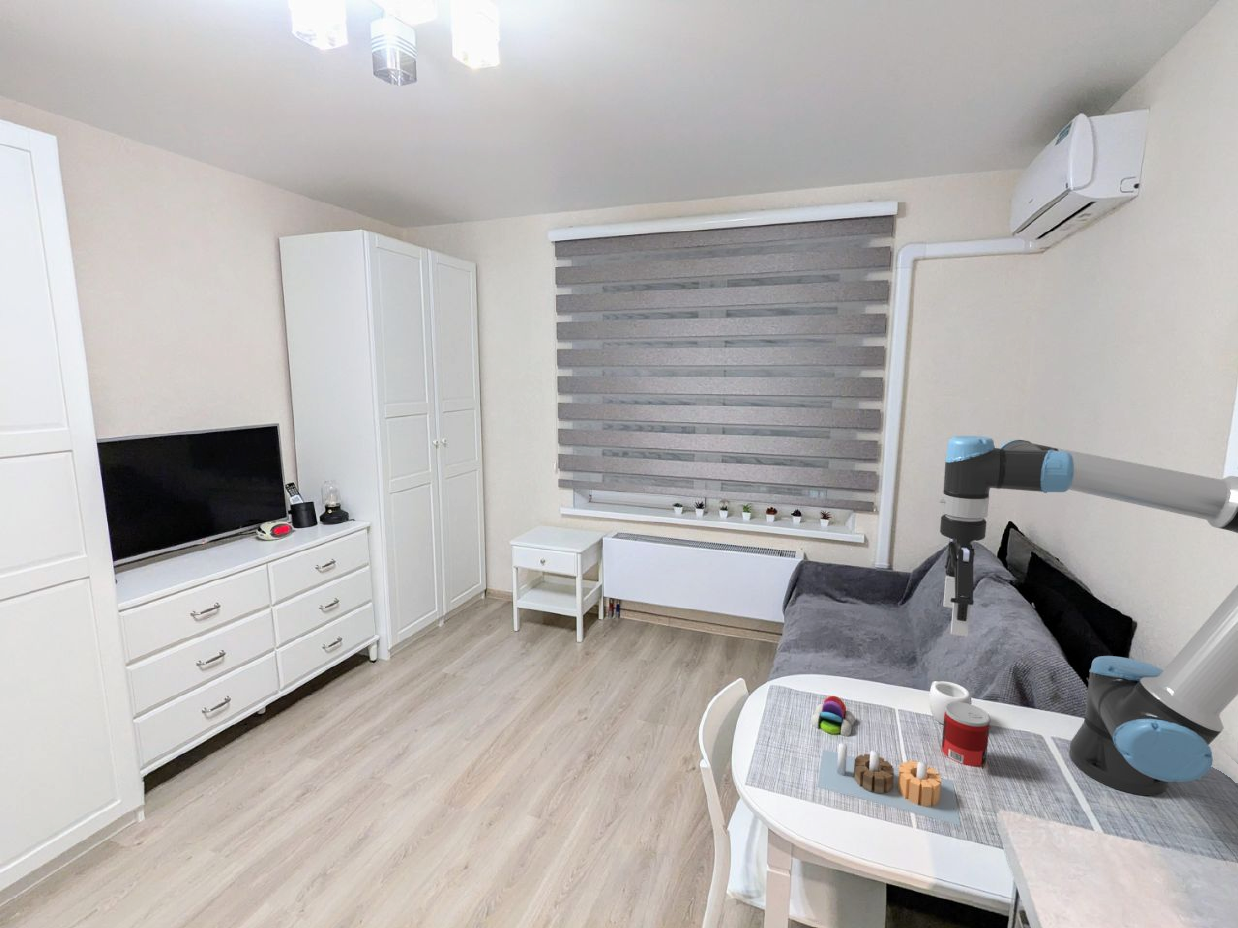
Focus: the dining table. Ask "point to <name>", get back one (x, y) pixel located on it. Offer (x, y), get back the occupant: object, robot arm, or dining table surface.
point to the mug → (946, 697)
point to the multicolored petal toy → (833, 717)
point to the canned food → (965, 734)
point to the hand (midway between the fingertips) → (954, 620)
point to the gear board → (841, 780)
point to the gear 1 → (873, 774)
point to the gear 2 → (919, 785)
